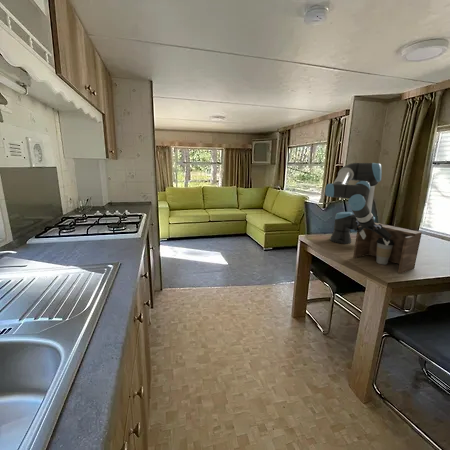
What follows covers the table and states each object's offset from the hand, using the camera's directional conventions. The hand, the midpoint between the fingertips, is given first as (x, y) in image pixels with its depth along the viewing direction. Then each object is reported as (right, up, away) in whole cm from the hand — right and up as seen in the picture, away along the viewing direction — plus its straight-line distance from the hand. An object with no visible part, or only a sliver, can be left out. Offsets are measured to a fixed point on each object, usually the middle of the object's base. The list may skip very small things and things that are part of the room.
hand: (375, 240), depth 148 cm
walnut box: (+9, -14, +9) cm, 20 cm away
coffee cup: (+9, -15, +9) cm, 20 cm away
